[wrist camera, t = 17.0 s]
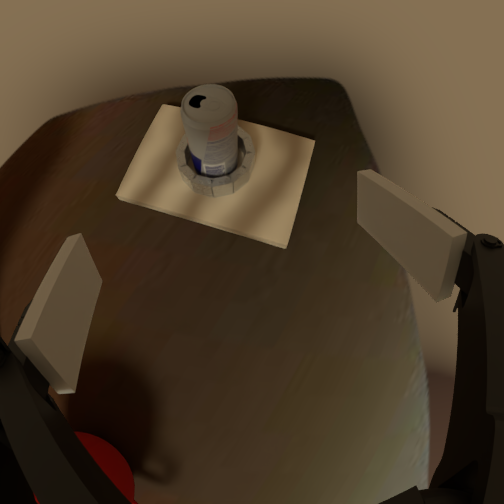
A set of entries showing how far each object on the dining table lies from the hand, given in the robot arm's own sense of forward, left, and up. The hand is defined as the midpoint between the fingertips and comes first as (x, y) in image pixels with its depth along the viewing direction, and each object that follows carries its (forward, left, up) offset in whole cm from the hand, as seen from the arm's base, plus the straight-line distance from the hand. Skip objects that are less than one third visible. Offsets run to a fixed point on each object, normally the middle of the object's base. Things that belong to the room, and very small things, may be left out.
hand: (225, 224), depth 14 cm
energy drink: (-7, +13, -21) cm, 26 cm away
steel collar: (-7, +14, -21) cm, 26 cm away
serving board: (-7, +14, -22) cm, 27 cm away
